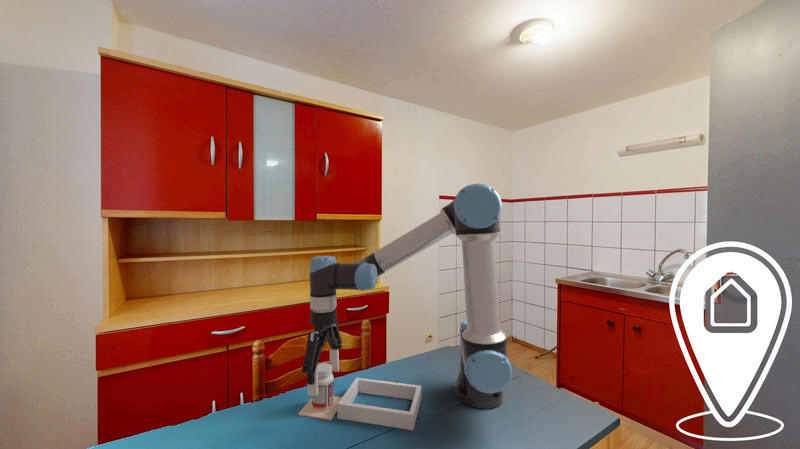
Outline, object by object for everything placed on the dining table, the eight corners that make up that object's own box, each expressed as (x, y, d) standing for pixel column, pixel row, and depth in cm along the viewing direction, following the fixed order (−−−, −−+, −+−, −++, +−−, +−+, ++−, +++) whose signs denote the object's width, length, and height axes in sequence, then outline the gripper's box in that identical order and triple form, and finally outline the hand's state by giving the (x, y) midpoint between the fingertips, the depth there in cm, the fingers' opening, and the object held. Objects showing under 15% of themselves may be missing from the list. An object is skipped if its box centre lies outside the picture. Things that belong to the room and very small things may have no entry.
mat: (345, 399, 91) (345, 398, 91) (330, 420, 81) (330, 418, 81) (315, 395, 93) (315, 393, 93) (297, 415, 83) (297, 413, 83)
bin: (421, 398, 91) (421, 385, 91) (413, 430, 77) (413, 415, 77) (356, 390, 96) (356, 377, 96) (337, 418, 82) (337, 403, 82)
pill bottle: (329, 396, 91) (329, 360, 91) (336, 407, 86) (337, 368, 86) (309, 403, 88) (309, 365, 88) (315, 414, 83) (316, 374, 83)
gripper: (330, 298, 100) (331, 361, 100) (287, 322, 76) (288, 405, 75) (351, 299, 98) (352, 363, 98) (313, 323, 74) (315, 408, 74)
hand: (324, 381), depth 87 cm, fingers open, 13 cm apart
